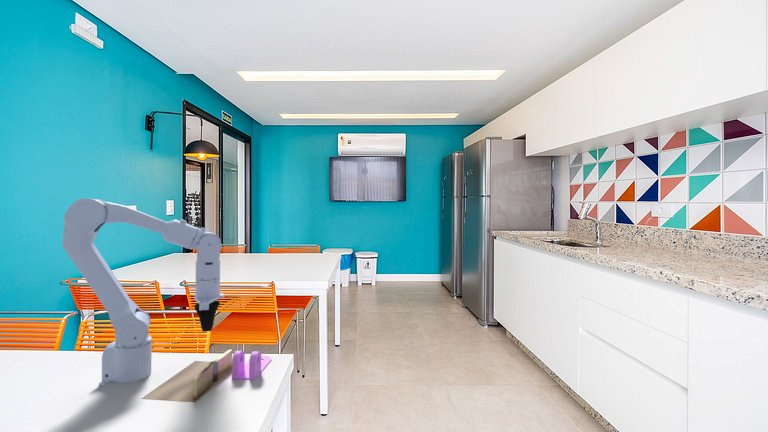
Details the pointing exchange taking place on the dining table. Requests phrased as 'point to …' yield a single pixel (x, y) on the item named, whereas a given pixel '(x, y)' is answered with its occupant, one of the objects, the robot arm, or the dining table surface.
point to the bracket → (248, 365)
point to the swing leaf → (202, 381)
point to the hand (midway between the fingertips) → (207, 330)
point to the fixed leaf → (221, 364)
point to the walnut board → (183, 384)
